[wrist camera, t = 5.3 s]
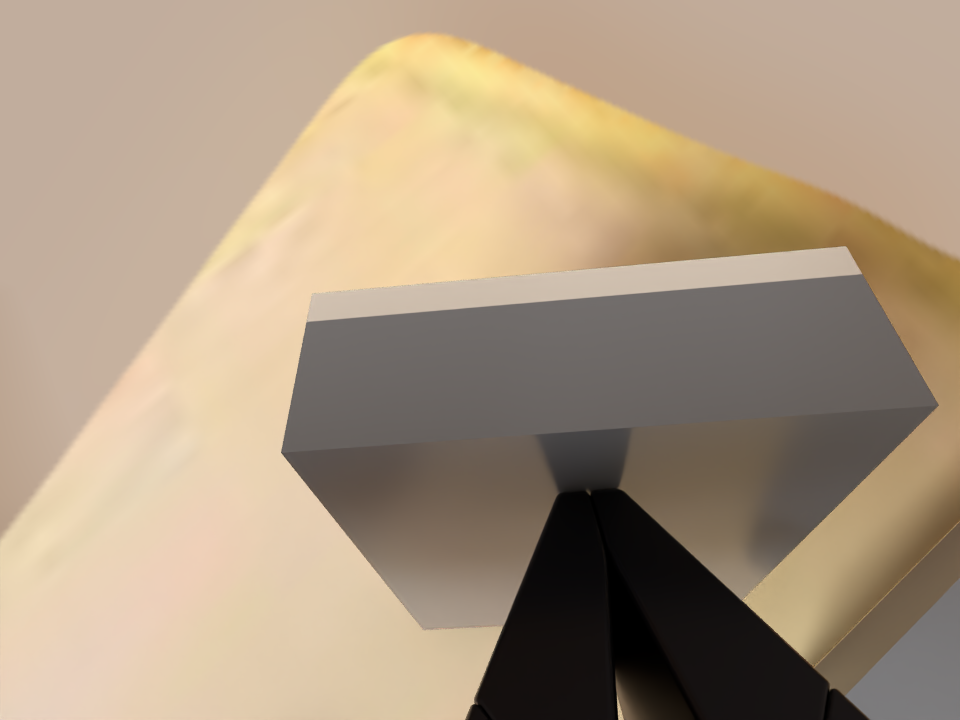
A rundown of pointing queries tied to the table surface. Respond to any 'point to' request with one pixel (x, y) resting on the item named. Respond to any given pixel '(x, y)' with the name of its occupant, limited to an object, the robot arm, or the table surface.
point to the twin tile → (906, 645)
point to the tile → (595, 414)
